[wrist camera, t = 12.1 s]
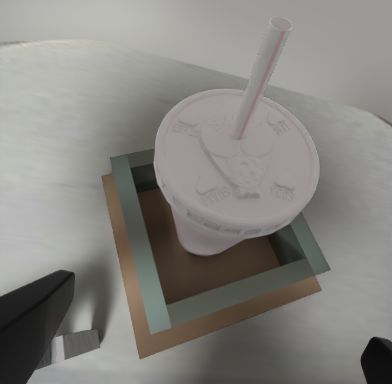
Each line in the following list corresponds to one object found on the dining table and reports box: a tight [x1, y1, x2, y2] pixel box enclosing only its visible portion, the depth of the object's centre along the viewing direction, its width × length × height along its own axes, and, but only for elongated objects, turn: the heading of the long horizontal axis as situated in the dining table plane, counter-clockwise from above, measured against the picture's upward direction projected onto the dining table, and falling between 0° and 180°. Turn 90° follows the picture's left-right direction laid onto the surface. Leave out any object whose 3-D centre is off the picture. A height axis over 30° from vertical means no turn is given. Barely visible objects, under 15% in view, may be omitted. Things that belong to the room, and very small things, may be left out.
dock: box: [102, 149, 331, 359], centre depth 18 cm, size 12×12×5 cm
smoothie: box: [153, 16, 320, 258], centre depth 13 cm, size 6×6×14 cm
